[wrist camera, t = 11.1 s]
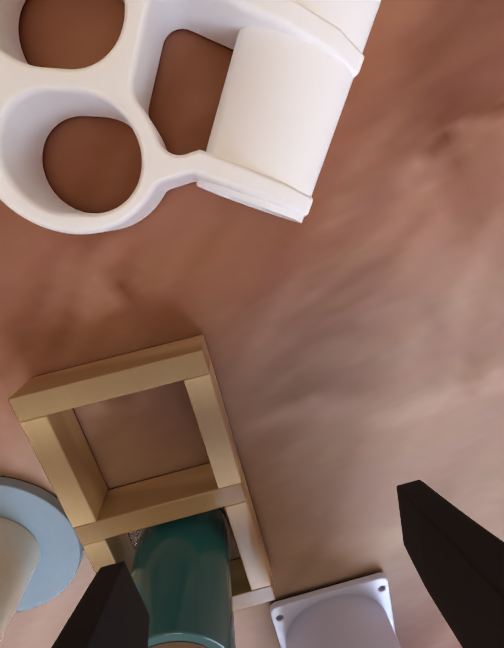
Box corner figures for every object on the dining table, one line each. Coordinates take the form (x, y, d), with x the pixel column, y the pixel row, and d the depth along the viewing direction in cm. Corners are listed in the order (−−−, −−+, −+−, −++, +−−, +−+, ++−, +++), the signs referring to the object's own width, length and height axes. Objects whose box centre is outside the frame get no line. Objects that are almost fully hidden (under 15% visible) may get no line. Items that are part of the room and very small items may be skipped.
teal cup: (237, 552, 22) (249, 699, 15) (155, 574, 22) (130, 734, 15) (216, 486, 20) (219, 618, 14) (127, 510, 20) (86, 656, 13)
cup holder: (269, 564, 23) (276, 600, 20) (137, 601, 22) (129, 641, 20) (203, 333, 18) (202, 349, 15) (31, 377, 17) (7, 399, 15)
